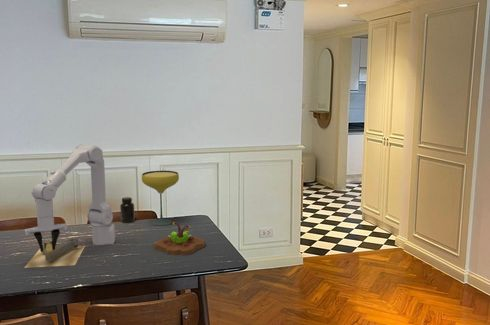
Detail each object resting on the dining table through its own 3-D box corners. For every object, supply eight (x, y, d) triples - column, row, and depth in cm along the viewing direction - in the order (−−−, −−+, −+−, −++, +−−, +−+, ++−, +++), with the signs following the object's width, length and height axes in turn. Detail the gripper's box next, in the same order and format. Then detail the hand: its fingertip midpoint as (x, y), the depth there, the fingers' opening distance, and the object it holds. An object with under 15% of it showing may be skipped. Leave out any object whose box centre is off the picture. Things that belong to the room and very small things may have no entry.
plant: (176, 237, 215) (175, 213, 213) (211, 244, 205) (211, 219, 203) (146, 250, 198) (145, 224, 196) (183, 258, 188) (182, 231, 186)
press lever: (72, 244, 197) (71, 228, 196) (80, 245, 197) (79, 229, 195) (42, 261, 179) (41, 243, 178) (51, 261, 178) (50, 244, 177)
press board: (85, 247, 200) (85, 245, 199) (74, 267, 178) (74, 265, 177) (40, 249, 197) (40, 247, 197) (24, 270, 175) (24, 267, 175)
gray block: (56, 250, 193) (56, 241, 192) (46, 255, 187) (46, 245, 187) (52, 250, 194) (52, 240, 193) (42, 255, 188) (41, 245, 187)
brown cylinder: (63, 251, 192) (63, 244, 191) (61, 255, 188) (61, 248, 187) (53, 252, 191) (52, 245, 191) (50, 255, 187) (50, 248, 187)
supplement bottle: (129, 218, 244) (128, 196, 242) (137, 220, 240) (136, 197, 238) (118, 221, 239) (117, 198, 237) (126, 223, 235) (125, 200, 233)
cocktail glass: (144, 229, 226) (143, 177, 222) (141, 219, 243) (140, 171, 239) (182, 226, 231) (181, 176, 227) (177, 216, 248) (175, 169, 244)
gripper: (63, 210, 184) (65, 243, 187) (22, 215, 177) (25, 250, 179) (67, 214, 178) (69, 249, 181) (25, 220, 171) (28, 256, 173)
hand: (47, 250), depth 179 cm, fingers open, 4 cm apart
